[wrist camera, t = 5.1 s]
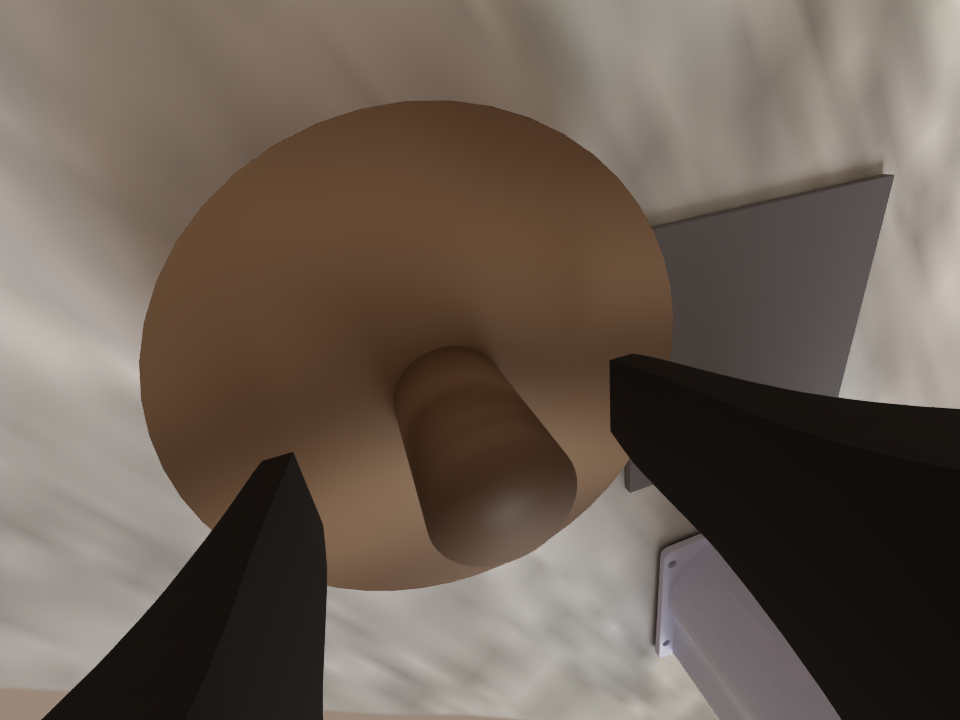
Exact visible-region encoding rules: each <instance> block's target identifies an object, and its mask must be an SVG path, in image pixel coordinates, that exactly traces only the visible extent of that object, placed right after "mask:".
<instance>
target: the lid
mask: <svg viewBox="0 0 960 720" xmlns="http://www.w3.org/2000/svg"><path fill="white" fill-rule="evenodd" d="M672 332H673V309H672V298H671V287H670V283H669V279H668V274H667V270H666V265H665V261H664V258H663V255H662V252H661V250H660V247H659V244H658V242H657V239H656V237H655V234H654V231H653V229H652V228H651V226H650V224H649V222H648V220H647V219H646V217H645V215H644V213H643V212H642V210H641V208H640V206H639V204H638V203H637V202H636V200H635V199H634V198H633V196H632V195H631V194H630V193H629V191H628V190H627V189H626V187H625V186H624V185H623V184H622V182H621V181H620V180H619V178H618V177H617V176H616V175H614V174H613V173H612V172H611V171H610V170H609V169H608V168H607V167H606V166H605V165H604V164H603V163H602V162H601V161H600V160H599V159H598V158H596V157H595V156H594V155H593V154H592V153H590V152H589V151H587V150H586V149H585V148H583V147H582V146H580V145H579V144H577V143H576V142H574V141H573V140H571V139H570V138H569V137H567V136H566V135H564V134H562V133H560V132H558V131H556V130H554V129H552V128H550V127H548V126H546V125H543V124H541V123H539V122H537V121H535V120H533V119H531V118H528V117H525V116H522V115H518V114H515V113H512V112H508V111H505V110H502V109H498V108H495V107H492V106H485V105H477V104H470V103H463V102H456V101H405V102H399V103H393V104H387V105H381V106H375V107H370V108H364V109H359V110H356V111H353V112H350V113H347V114H344V115H341V116H338V117H335V118H332V119H329V120H326V121H323V122H320V123H317V124H315V125H313V126H311V127H309V128H307V129H305V130H303V131H301V132H299V133H297V134H295V135H293V136H291V137H289V138H287V139H285V140H283V141H281V142H279V143H277V144H276V145H274V146H272V147H271V148H269V149H268V150H267V151H265V152H264V153H263V154H261V155H260V156H258V157H257V158H256V159H254V160H253V161H251V162H250V163H249V164H247V165H246V166H245V167H243V168H242V169H240V170H239V171H238V172H236V173H235V174H234V175H233V176H232V177H231V178H230V179H229V180H228V181H227V182H226V183H225V184H224V185H223V186H222V187H221V188H220V189H219V190H218V191H217V192H216V193H215V194H214V195H213V196H212V197H211V198H210V199H209V200H208V201H207V202H206V203H205V204H204V205H203V206H202V207H201V209H200V210H199V211H198V213H197V214H196V216H195V217H194V218H193V220H192V221H191V222H190V224H189V225H188V227H187V228H186V229H185V231H184V232H183V234H182V235H181V236H180V238H179V239H178V240H177V242H176V243H175V245H174V247H173V249H172V251H171V253H170V255H169V257H168V259H167V261H166V263H165V265H164V267H163V269H162V272H161V274H160V276H159V278H158V280H157V282H156V284H155V288H154V291H153V294H152V298H151V301H150V304H149V308H148V311H147V314H146V318H145V321H144V327H143V335H142V344H141V352H140V360H139V367H140V385H141V401H142V406H143V410H144V414H145V419H146V423H147V427H148V432H149V436H150V438H151V441H152V443H153V446H154V448H155V450H156V453H157V455H158V458H159V460H160V462H161V465H162V467H163V469H164V471H165V472H166V474H167V476H168V477H169V479H170V480H171V482H172V484H173V485H174V487H175V488H176V490H177V491H178V493H179V495H180V496H181V498H182V499H183V500H184V501H185V502H186V503H187V505H188V506H189V507H190V508H191V509H192V510H193V511H194V513H195V514H196V515H197V516H198V517H199V518H200V520H201V521H202V522H203V523H204V524H206V525H207V526H208V527H209V528H210V529H211V530H213V528H214V527H215V526H216V524H217V523H218V522H219V520H220V519H221V517H222V516H223V515H224V513H225V512H226V510H227V509H228V508H229V506H230V505H231V504H232V502H233V501H234V499H235V498H236V496H237V495H238V494H239V492H240V491H241V489H242V488H243V486H244V485H245V483H246V482H247V481H248V479H249V478H250V476H251V475H252V473H253V472H254V471H255V469H256V468H257V467H258V465H259V464H260V463H261V461H263V460H266V459H270V458H273V457H277V456H280V455H284V454H287V453H291V452H293V453H294V455H295V457H296V460H297V462H298V465H299V467H300V469H301V472H302V474H303V477H304V479H305V482H306V484H307V486H308V489H309V491H310V494H311V496H312V499H313V501H314V503H315V506H316V508H317V511H318V513H319V515H320V518H321V520H322V523H323V527H324V537H325V547H326V559H327V586H332V587H337V588H345V589H355V590H365V591H396V590H406V589H416V588H424V587H429V586H435V585H440V584H445V583H450V582H454V581H457V580H460V579H464V578H467V577H471V576H474V575H477V574H480V573H482V572H485V571H488V570H490V569H493V568H495V567H498V566H500V565H503V564H505V563H507V562H511V561H513V560H516V559H518V558H521V557H523V556H525V555H527V554H529V553H530V552H532V551H534V550H535V549H537V548H538V547H540V546H541V545H542V544H544V543H545V542H546V541H547V540H548V539H550V538H551V537H552V536H554V535H555V534H557V533H558V532H559V531H561V530H562V529H563V528H565V527H566V526H567V525H569V524H570V523H571V522H572V521H574V520H575V519H576V518H577V517H578V516H579V515H580V514H582V513H583V512H584V511H585V510H586V509H587V508H588V507H590V506H591V505H592V503H593V502H594V501H595V500H596V499H597V498H598V497H599V496H600V495H601V494H602V493H603V492H604V491H605V490H606V489H607V488H608V487H609V485H610V484H611V483H612V482H613V480H614V479H615V478H616V477H617V475H618V474H619V473H620V472H621V470H622V469H623V468H624V466H625V465H626V463H627V462H628V460H629V459H630V458H629V457H628V455H627V454H626V453H625V451H624V450H623V449H622V447H621V446H620V444H619V443H618V441H617V440H616V439H615V437H614V436H613V434H612V433H611V431H610V370H609V360H612V359H615V358H618V357H622V356H625V355H629V354H639V355H645V356H650V357H654V358H659V359H663V360H667V361H669V360H670V354H671V347H672Z"/></svg>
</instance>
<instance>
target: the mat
mask: <svg viewBox="0 0 960 720" xmlns="http://www.w3.org/2000/svg"><path fill="white" fill-rule="evenodd" d="M893 179H894V175H887V174H883V175H879V176H874V177H870V178H866V179H861V180H857V181H852V182H848V183H844V184H839V185H835V186H830V187H826V188H822V189H817V190H813V191H808V192H804V193H800V194H795V195H791V196H786V197H782V198H778V199H773V200H769V201H764V202H760V203H756V204H751V205H747V206H742V207H738V208H734V209H729V210H725V211H720V212H716V213H712V214H707V215H703V216H698V217H694V218H690V219H685V220H681V221H676V222H672V223H668V224H663V225H659V226H654V227H651V228H652V229H653V231H654V234H655V237H656V239H657V242H658V244H659V247H660V250H661V252H662V255H663V258H664V261H665V265H666V270H667V274H668V279H669V283H670V287H671V298H672V309H673V332H672V347H671V354H670V360H669V361H671V362H675V363H679V364H683V365H686V366H690V367H694V368H698V369H702V370H706V371H710V372H714V373H718V374H721V375H726V376H730V377H734V378H738V379H742V380H746V381H751V382H755V383H760V384H765V385H770V386H774V387H779V388H784V389H789V390H794V391H800V392H805V393H812V394H818V395H825V396H831V397H838V395H839V391H840V387H841V383H842V379H843V375H844V371H845V367H846V363H847V359H848V355H849V352H850V348H851V344H852V340H853V336H854V332H855V328H856V324H857V320H858V316H859V312H860V308H861V304H862V300H863V297H864V293H865V289H866V285H867V281H868V277H869V273H870V269H871V265H872V261H873V257H874V253H875V249H876V245H877V241H878V238H879V234H880V230H881V226H882V222H883V218H884V214H885V210H886V206H887V202H888V198H889V194H890V190H891V186H892V183H893ZM650 485H653V483H652V482H651V481H650V480H649V479H648V478H647V477H646V476H645V475H644V474H643V473H642V472H641V471H640V470H639V469H638V468H637V467H636V465H635V464H634V463H633V462H632V461H631V459H629V460H628V462H627V463H626V465H625V488H626V489H627V490H628V491H629V492H633V491H636V490H639V489H642V488H644V487H647V486H650Z"/></svg>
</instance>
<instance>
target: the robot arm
mask: <svg viewBox="0 0 960 720" xmlns="http://www.w3.org/2000/svg"><path fill="white" fill-rule="evenodd" d="M609 370H610V431H611V433H612V434H613V436H614V437H615V439H616V440H617V441H618V443H619V444H620V446H621V447H622V449H623V450H624V451H625V453H626V454H627V455H628V457H629V458H630V459H631V461H632V462H633V463H634V464H635V465H636V467H637V468H638V469H639V470H640V471H641V472H642V473H643V474H644V475H645V476H646V477H647V478H648V479H649V480H650V481H651V482H652V483H653V485H654V486H655V487H656V488H657V489H658V490H659V491H660V492H661V493H662V494H663V495H664V496H665V497H666V498H667V499H668V500H669V501H670V502H671V503H672V504H673V505H674V506H675V507H676V508H677V509H678V510H679V511H680V512H681V513H682V514H683V515H684V516H685V517H686V518H687V519H688V520H689V522H690V523H691V524H692V525H693V526H694V527H695V528H696V529H697V530H698V531H699V532H700V533H701V534H698V535H696V536H693V537H691V538H688V539H686V540H683V541H681V542H678V543H675V544H673V545H670V546H668V547H666V548H665V549H664V550H663V551H662V552H661V556H660V573H659V591H658V608H657V626H656V644H655V652H656V653H657V655H658V656H659V657H660V658H664V657H666V656H669V655H671V654H673V653H674V655H675V656H676V657H677V659H678V660H679V662H680V663H681V665H682V666H683V668H684V669H685V670H686V672H687V673H688V675H689V676H690V678H691V679H692V680H693V682H694V683H695V685H696V686H697V688H698V689H699V691H700V692H701V693H702V695H703V696H704V698H705V699H706V701H707V702H708V704H709V705H710V706H711V708H712V709H713V711H714V712H715V714H716V715H717V717H718V718H719V719H720V720H960V409H950V408H935V407H920V406H909V405H899V404H888V403H878V402H868V401H860V400H852V399H844V398H838V397H831V396H825V395H818V394H812V393H805V392H800V391H794V390H789V389H784V388H779V387H774V386H770V385H765V384H760V383H755V382H751V381H746V380H742V379H738V378H734V377H730V376H726V375H721V374H718V373H714V372H710V371H706V370H702V369H698V368H694V367H690V366H686V365H683V364H679V363H675V362H671V361H667V360H663V359H659V358H654V357H650V356H645V355H639V354H629V355H625V356H622V357H618V358H615V359H612V360H609ZM326 597H327V559H326V547H325V537H324V527H323V523H322V520H321V518H320V515H319V513H318V511H317V508H316V506H315V503H314V501H313V499H312V496H311V494H310V491H309V489H308V486H307V484H306V482H305V479H304V477H303V474H302V472H301V469H300V467H299V465H298V462H297V460H296V457H295V455H294V453H293V452H291V453H287V454H284V455H280V456H277V457H273V458H270V459H266V460H263V461H261V463H260V464H259V465H258V467H257V468H256V469H255V471H254V472H253V473H252V475H251V476H250V478H249V479H248V481H247V482H246V483H245V485H244V486H243V488H242V489H241V491H240V492H239V494H238V495H237V496H236V498H235V499H234V501H233V502H232V504H231V505H230V506H229V508H228V509H227V510H226V512H225V513H224V515H223V516H222V517H221V519H220V520H219V522H218V523H217V524H216V526H215V527H214V528H213V530H212V531H211V533H210V534H209V535H208V537H207V538H206V539H205V541H204V542H203V543H202V545H201V546H200V547H199V548H198V550H197V551H196V552H195V553H194V555H193V556H192V557H191V558H190V560H189V561H188V562H187V563H186V565H185V566H184V567H183V568H182V570H181V571H180V572H179V573H178V575H177V576H176V577H175V579H174V580H173V581H172V582H171V584H170V585H169V586H168V587H167V589H166V590H165V591H164V592H163V593H162V594H161V596H160V597H159V598H158V599H157V600H156V602H155V603H154V604H153V605H152V606H151V607H150V608H149V610H148V611H147V612H146V613H145V614H144V615H143V616H142V618H141V619H140V620H139V621H138V622H137V623H136V624H135V625H134V626H133V627H132V628H131V629H130V631H129V632H128V633H127V634H126V635H125V636H124V637H123V638H122V639H121V640H120V641H119V642H118V644H117V645H116V646H115V647H114V648H113V649H112V650H111V651H110V652H109V653H108V654H107V655H106V656H105V657H104V658H103V659H102V661H101V662H100V663H99V664H98V665H97V666H96V667H95V668H94V669H93V670H92V671H91V672H90V673H89V674H88V675H87V676H86V677H85V678H83V679H82V680H81V681H80V682H79V683H78V684H77V685H76V686H75V687H74V688H73V689H72V690H71V691H70V692H69V693H68V694H67V695H66V696H65V697H64V698H63V699H62V700H61V701H60V702H59V703H58V704H57V705H56V706H55V707H54V708H53V709H52V710H51V711H50V712H49V713H48V714H47V715H46V716H45V717H44V718H43V719H42V720H323V669H324V645H325V622H326Z"/></svg>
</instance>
